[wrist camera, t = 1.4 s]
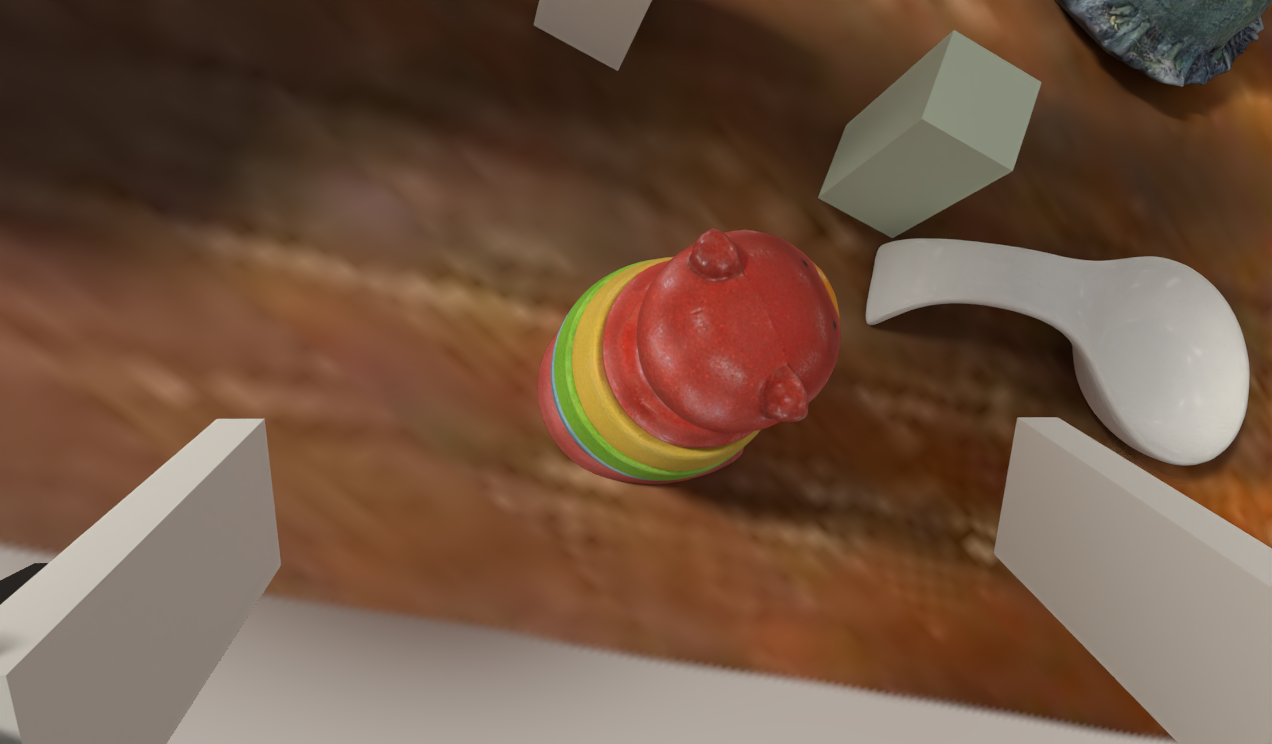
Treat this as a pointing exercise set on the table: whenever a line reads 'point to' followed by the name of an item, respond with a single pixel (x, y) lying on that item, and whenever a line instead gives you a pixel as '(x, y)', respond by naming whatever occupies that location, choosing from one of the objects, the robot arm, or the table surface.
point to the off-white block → (594, 25)
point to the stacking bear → (689, 358)
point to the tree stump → (1171, 34)
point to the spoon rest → (1099, 332)
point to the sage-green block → (931, 137)
